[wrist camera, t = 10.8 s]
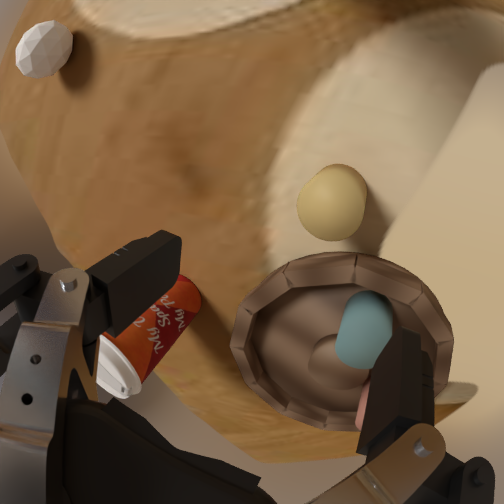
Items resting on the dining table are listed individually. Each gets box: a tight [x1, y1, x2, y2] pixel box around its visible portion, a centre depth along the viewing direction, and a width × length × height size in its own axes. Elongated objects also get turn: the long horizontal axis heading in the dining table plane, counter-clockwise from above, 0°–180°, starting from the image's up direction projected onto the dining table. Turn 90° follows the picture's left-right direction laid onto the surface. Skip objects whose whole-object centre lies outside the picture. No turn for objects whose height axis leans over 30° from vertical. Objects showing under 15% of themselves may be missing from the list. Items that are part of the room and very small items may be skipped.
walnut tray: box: [230, 252, 454, 432], centre depth 28 cm, size 22×22×3 cm
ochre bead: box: [297, 164, 367, 241], centre depth 21 cm, size 4×4×5 cm
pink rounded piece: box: [355, 376, 371, 430], centre depth 26 cm, size 4×4×5 cm
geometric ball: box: [16, 20, 73, 78], centre depth 24 cm, size 8×8×8 cm
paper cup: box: [96, 274, 202, 398], centre depth 29 cm, size 8×8×14 cm
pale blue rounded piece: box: [335, 290, 393, 369], centre depth 23 cm, size 4×4×5 cm
